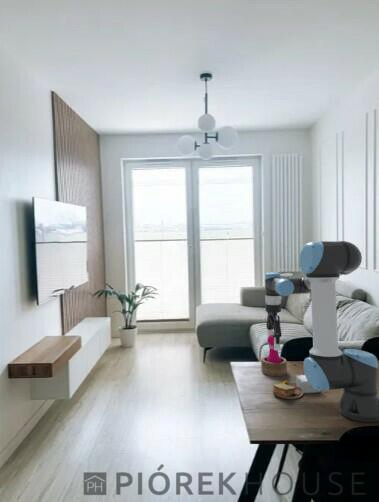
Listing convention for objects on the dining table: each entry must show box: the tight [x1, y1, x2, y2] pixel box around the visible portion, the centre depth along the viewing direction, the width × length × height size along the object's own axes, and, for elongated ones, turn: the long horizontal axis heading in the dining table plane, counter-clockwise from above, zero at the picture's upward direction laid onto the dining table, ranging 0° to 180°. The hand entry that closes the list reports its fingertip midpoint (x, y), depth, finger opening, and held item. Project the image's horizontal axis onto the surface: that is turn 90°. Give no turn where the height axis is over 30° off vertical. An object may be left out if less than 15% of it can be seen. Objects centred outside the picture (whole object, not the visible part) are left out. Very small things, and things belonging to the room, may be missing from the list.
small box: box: [295, 374, 321, 394], centre depth 162 cm, size 8×8×5 cm
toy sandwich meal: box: [272, 379, 304, 400], centre depth 158 cm, size 12×14×5 cm
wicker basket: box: [260, 355, 288, 377], centre depth 185 cm, size 12×12×6 cm
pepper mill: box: [267, 331, 281, 363], centre depth 184 cm, size 7×7×20 cm
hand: (273, 346), depth 184 cm, fingers open, 13 cm apart
